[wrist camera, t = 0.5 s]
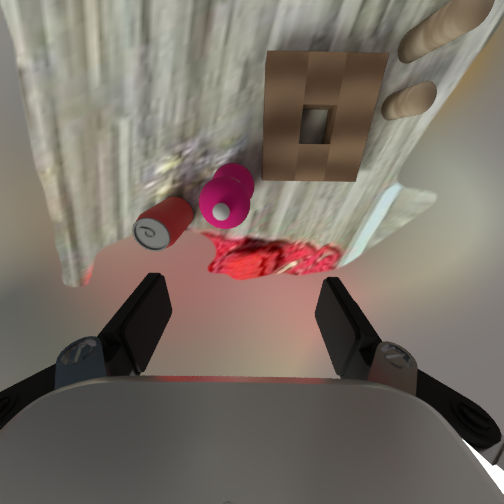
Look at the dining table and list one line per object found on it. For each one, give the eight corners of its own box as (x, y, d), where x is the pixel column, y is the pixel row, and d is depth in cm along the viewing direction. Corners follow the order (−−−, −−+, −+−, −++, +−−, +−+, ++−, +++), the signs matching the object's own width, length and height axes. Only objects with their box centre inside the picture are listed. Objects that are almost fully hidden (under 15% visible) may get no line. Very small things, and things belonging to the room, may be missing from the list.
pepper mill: (260, 173, 36) (269, 198, 18) (244, 207, 39) (237, 256, 21) (225, 153, 34) (197, 160, 17) (210, 190, 37) (174, 229, 20)
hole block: (265, 62, 28) (267, 50, 25) (372, 64, 28) (389, 52, 25) (261, 177, 36) (262, 180, 32) (345, 178, 36) (355, 181, 33)
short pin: (385, 92, 30) (414, 80, 25) (408, 92, 30) (441, 81, 25) (378, 120, 32) (403, 114, 26) (399, 120, 32) (429, 115, 26)
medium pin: (403, 28, 27) (467, -22, 19) (429, 28, 27) (503, -21, 19) (393, 63, 28) (448, 30, 20) (417, 63, 28) (481, 31, 20)
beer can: (169, 189, 37) (136, 205, 27) (199, 207, 39) (180, 230, 28) (156, 216, 40) (122, 240, 29) (186, 232, 41) (163, 261, 31)
